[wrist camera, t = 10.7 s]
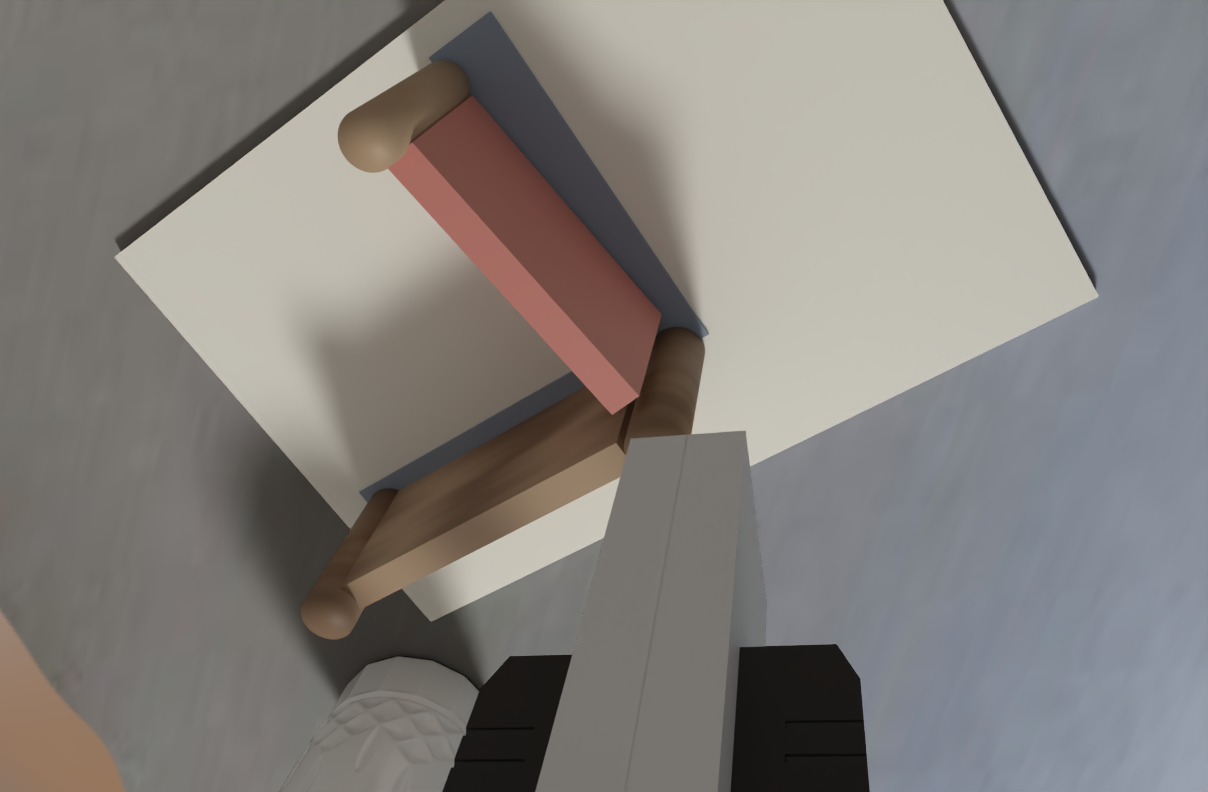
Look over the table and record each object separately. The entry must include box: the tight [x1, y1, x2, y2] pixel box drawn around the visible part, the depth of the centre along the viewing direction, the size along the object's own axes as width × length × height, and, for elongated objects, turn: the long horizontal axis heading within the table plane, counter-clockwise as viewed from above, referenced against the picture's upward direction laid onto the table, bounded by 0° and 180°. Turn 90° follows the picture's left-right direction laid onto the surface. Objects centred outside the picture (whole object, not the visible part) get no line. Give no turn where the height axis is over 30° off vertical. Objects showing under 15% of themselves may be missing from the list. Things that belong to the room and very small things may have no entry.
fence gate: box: [338, 60, 662, 415], centre depth 30 cm, size 10×2×7 cm, turn 41°
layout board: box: [115, 0, 1099, 622], centre depth 35 cm, size 27×18×1 cm, turn 125°
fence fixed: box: [301, 327, 705, 639], centre depth 35 cm, size 15×2×6 cm, turn 125°
